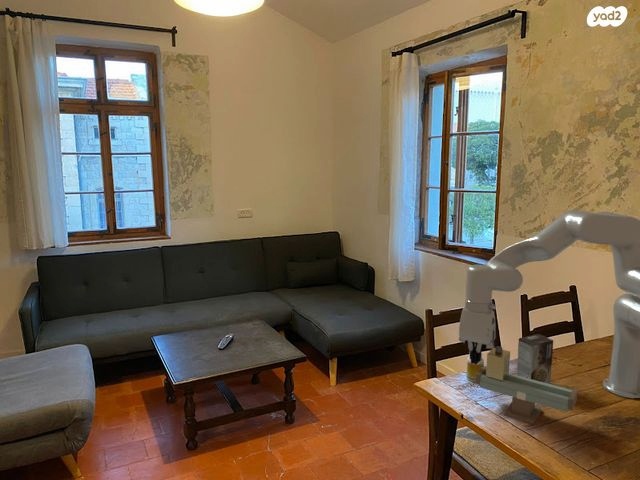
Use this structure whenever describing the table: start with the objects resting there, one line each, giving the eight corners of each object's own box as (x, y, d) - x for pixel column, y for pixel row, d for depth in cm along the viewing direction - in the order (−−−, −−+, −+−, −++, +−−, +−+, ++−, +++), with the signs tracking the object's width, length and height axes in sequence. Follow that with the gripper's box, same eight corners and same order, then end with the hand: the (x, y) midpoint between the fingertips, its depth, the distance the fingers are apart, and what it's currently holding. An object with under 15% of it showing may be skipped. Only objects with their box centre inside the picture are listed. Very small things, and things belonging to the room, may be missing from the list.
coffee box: (535, 377, 164) (538, 333, 161) (550, 386, 158) (554, 340, 155) (514, 383, 161) (518, 337, 158) (530, 391, 155) (533, 344, 152)
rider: (508, 377, 147) (510, 346, 145) (502, 385, 142) (504, 353, 140) (491, 373, 150) (493, 342, 148) (485, 380, 145) (487, 349, 143)
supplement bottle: (483, 383, 161) (485, 355, 159) (467, 381, 162) (468, 354, 160) (481, 375, 166) (483, 349, 164) (465, 374, 167) (466, 348, 165)
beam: (575, 420, 138) (578, 388, 136) (569, 435, 131) (572, 401, 129) (483, 393, 154) (485, 364, 152) (473, 405, 147) (475, 375, 145)
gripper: (507, 307, 144) (503, 364, 148) (458, 298, 153) (456, 352, 156) (499, 313, 138) (495, 373, 142) (449, 304, 147) (447, 360, 151)
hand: (475, 362), depth 149 cm, fingers closed
